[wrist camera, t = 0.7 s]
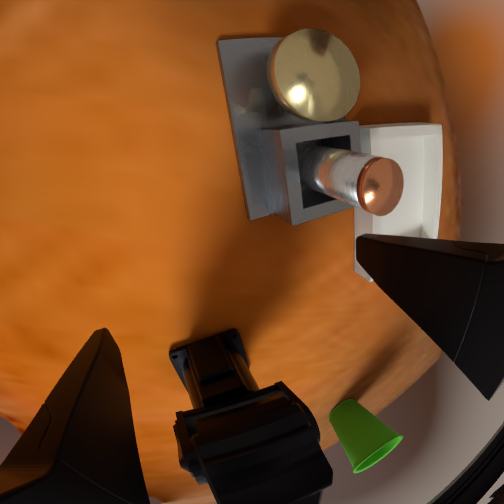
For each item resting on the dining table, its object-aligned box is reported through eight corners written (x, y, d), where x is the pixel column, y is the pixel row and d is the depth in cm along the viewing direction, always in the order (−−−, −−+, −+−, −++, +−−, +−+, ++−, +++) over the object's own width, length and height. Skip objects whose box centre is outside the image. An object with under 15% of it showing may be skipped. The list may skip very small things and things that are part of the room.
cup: (367, 400, 43) (403, 441, 34) (325, 431, 42) (358, 475, 33) (359, 381, 38) (403, 430, 29) (310, 417, 38) (348, 471, 28)
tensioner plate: (344, 191, 24) (384, 206, 20) (247, 218, 21) (276, 241, 17) (326, 41, 18) (367, 29, 14) (215, 42, 15) (239, 19, 11)
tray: (420, 239, 31) (435, 247, 29) (354, 270, 28) (370, 282, 26) (423, 122, 24) (441, 124, 22) (348, 126, 21) (369, 128, 19)
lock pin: (318, 178, 22) (403, 209, 14) (284, 186, 21) (364, 222, 13) (314, 140, 20) (403, 155, 13) (279, 146, 19) (363, 162, 12)
